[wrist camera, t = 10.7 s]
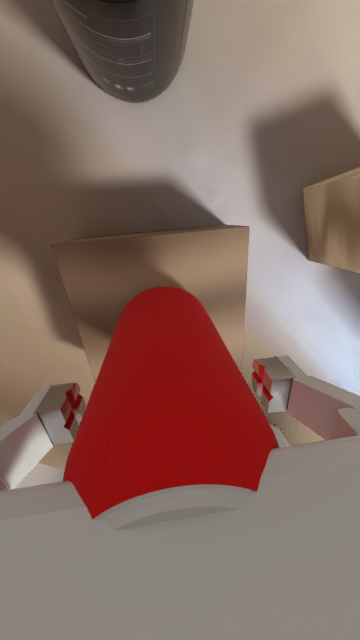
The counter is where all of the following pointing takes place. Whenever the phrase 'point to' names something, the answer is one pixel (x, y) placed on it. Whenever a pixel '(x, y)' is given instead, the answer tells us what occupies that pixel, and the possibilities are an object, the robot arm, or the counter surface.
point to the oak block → (334, 221)
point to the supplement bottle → (128, 42)
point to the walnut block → (155, 279)
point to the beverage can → (167, 420)
